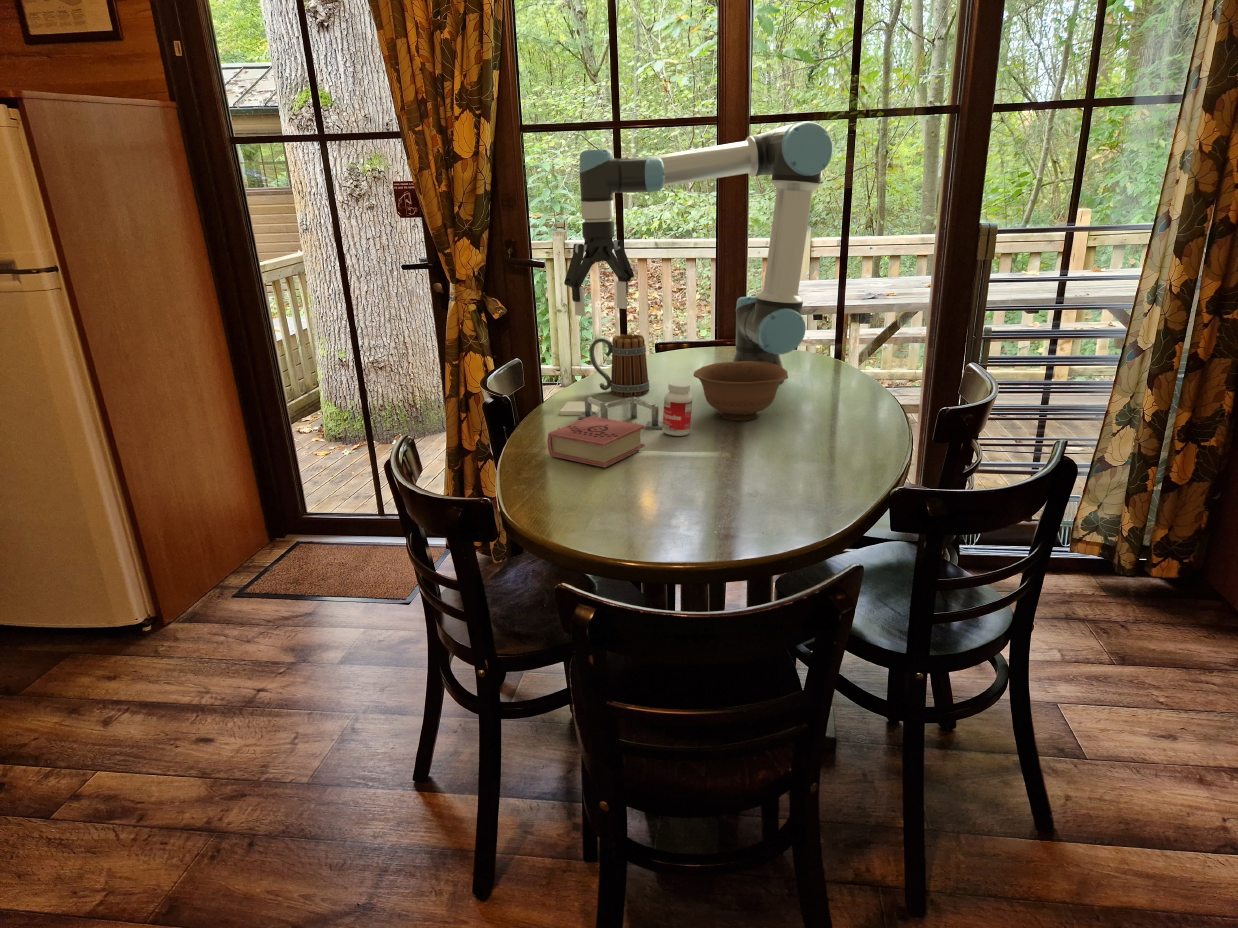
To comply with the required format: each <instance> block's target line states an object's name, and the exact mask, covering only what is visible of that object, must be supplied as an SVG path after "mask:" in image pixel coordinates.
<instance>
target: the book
mask: <svg viewBox="0 0 1238 928" xmlns="http://www.w3.org/2000/svg"><path fill="white" fill-rule="evenodd" d="M644 429H645V425H644V424H639V423H634V422H629V421H621V420H615V419H610V418H608V419H605V418H601V417H598V416H597V417H593V416H590V417H587V418H585V419H579V420H576V421H575V422H573V423H570V424H568V425H565V426H562V427H557V429H555V430H552V431H550V432H547V438H546V439H547V440H546V441H547V450H548V454H549V456H550V457H554V458H558V459H565V460H568V461H572V462H578V463H583V464H588V465H592V466H595V467H600V468H601V467H602V468H606V467H608V466H610V465H613V464H615V463H616V462H618V461H621V460H623V459H626V458H627V457H629V456H631V455H632V454H635V453H638V452H639V451H640V449H642V448H643V447H645V446H646V444H644V443H642V442H641V431H642V430H644Z"/></svg>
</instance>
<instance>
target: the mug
mask: <svg viewBox="0 0 1238 928" xmlns="http://www.w3.org/2000/svg"><path fill="white" fill-rule="evenodd" d="M599 343H604V344H605V345H606V346H607V352H606V353H605V356H606V357H607V358H609V357H610V356H611V377H610V376H609V374H608V373H607V372H605V370H603V369H602V368H601V367H600V365H599V364H598V362H597V359H596V355H595V347H596V345H598V344H599ZM646 353H647V345H646V343H645V337H644V336H643V335H642V334H632V333H628V334H620V335H619V334H618V335H615V336H613V338H612V341H610V339H608V338H606V337H598V338H596V339H594V340H593V342H592V343H591V345H590V348H589V357H590V361H591V362H590V363H591V364H592V367H593V368H594V370H595V371H596V372H597V373H598V374H599V375H600V376H601V377H602V378H604V380H605V381H606V385H605V383H604V382H600V383H599V384H598V385H599V388H600V390H602V391H607V390H609V389H610V392H611V394H613V395H614V396H616V397H623V398H630V397H640V396H645V395H646V394H648V393H649V392H650V388H651V387H650V379H649V375H648V363H647V354H646Z"/></svg>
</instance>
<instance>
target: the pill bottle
mask: <svg viewBox="0 0 1238 928" xmlns="http://www.w3.org/2000/svg"><path fill="white" fill-rule="evenodd" d="M667 389H668V392H666V394H665V395H664V399H663V411H662V412H663V414H662V415H663V416H662V422H663V426H662V429H661V430H662V432H663V433H664V434H666V435H670V436H674V437H680V436H682V437H683V436H686V435H689V434H690V433H691V422H692V410H693V409H692V408H693V396H692V394H690V393H689V392H690V390H691V384H690V383H688V382H684V381H670V382H668V387H667Z"/></svg>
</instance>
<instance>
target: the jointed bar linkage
mask: <svg viewBox="0 0 1238 928" xmlns="http://www.w3.org/2000/svg"><path fill="white" fill-rule="evenodd" d="M584 402H585V413H581V415H578V419H579V420H582V419H585V418H587V417H590V416H593V417H598V416H599V412H598V413H592V405H591V404H593V405H596V406H598V407H600V408H601V409H600V418H605V419H609V416H608V415H609V414H608V412H609V411H608V408H613V407H617V406H622V405H627V404H629V412H630V413H629V416H630V419H632V420H633V419H634V420H635V419H637V418H638V405H639V406H642V407H644V408H646V409H649V410H651V421H647V422H646V424H645V425H644V428H645V430H662V426H663V421H660V420H659V416H660V415H659V413H660V412H659V404H655V403H653V402H650V401H647V400H644V399H641V398H639V397H638V396H635V397H624V398H621V399H617V400H612V401H608V402H603V401H601V400H598V399H596V398H593V397H592V396H591V395H589V396H588V395H587V396H584Z"/></svg>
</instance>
